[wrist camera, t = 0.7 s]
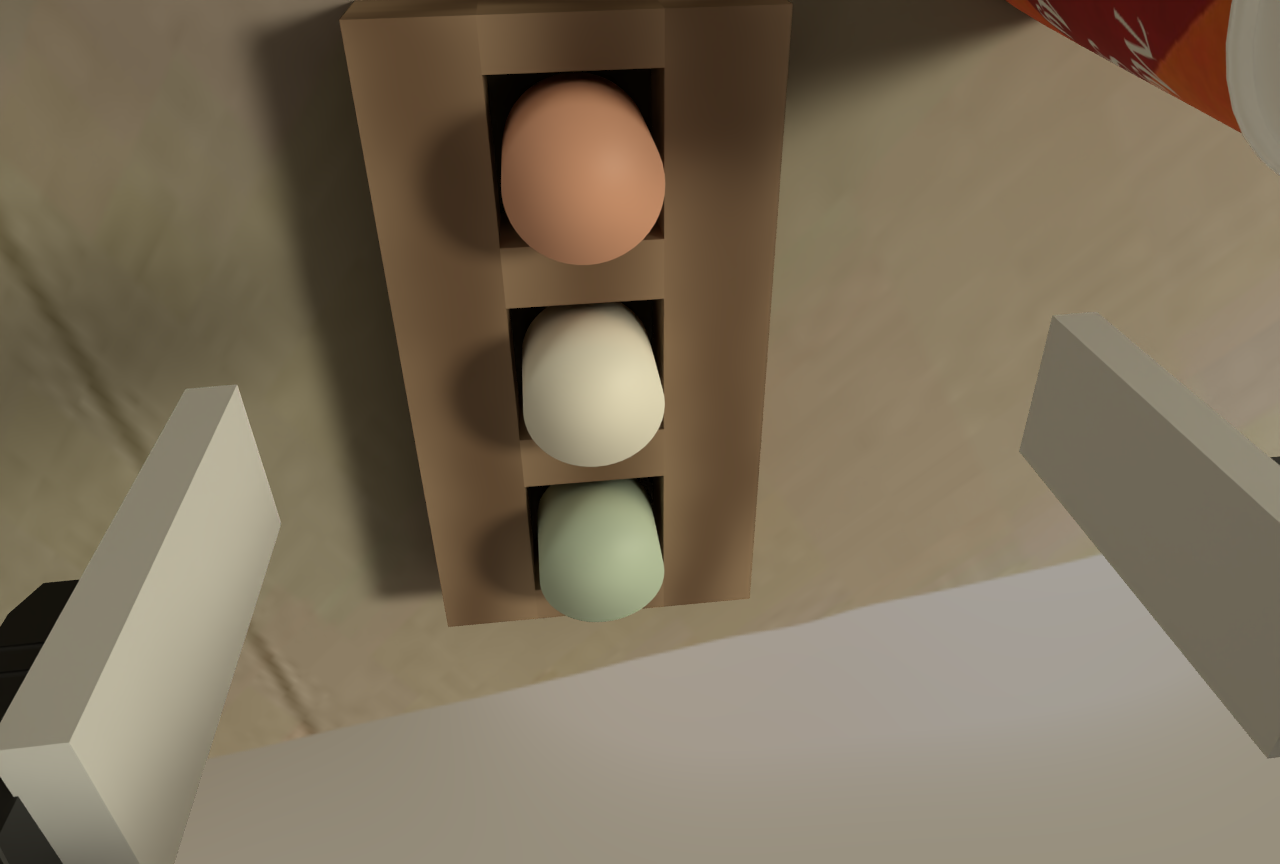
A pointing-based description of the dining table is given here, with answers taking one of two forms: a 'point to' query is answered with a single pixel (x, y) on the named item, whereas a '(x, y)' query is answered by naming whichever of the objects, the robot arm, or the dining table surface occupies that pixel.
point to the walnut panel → (576, 271)
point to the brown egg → (580, 170)
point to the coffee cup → (1188, 54)
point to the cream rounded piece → (590, 383)
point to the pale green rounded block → (598, 549)
